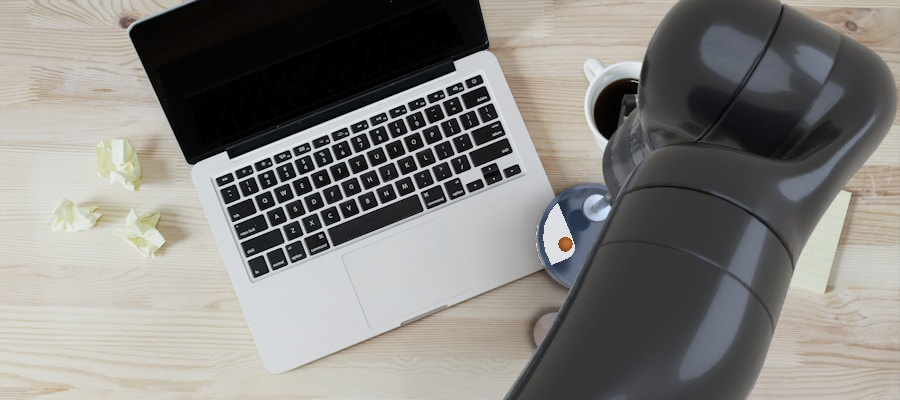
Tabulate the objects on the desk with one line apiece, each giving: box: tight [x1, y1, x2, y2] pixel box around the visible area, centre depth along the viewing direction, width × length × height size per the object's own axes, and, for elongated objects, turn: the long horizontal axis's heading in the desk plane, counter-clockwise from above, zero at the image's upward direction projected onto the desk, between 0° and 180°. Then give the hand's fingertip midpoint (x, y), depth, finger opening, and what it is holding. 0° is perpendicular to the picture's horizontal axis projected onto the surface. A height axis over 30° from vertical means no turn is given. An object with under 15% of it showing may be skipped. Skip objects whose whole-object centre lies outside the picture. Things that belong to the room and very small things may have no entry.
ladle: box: [582, 192, 612, 223], centre depth 71 cm, size 3×3×20 cm
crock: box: [533, 312, 558, 347], centre depth 77 cm, size 5×5×20 cm
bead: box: [558, 237, 573, 252], centre depth 87 cm, size 2×2×2 cm
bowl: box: [536, 183, 612, 290], centre depth 86 cm, size 12×12×5 cm
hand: (621, 190), depth 66 cm, fingers closed on ladle, 1 cm apart
